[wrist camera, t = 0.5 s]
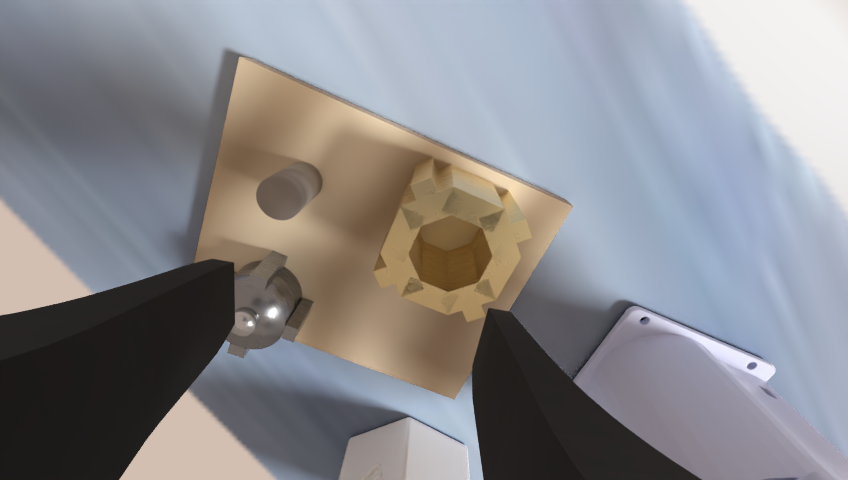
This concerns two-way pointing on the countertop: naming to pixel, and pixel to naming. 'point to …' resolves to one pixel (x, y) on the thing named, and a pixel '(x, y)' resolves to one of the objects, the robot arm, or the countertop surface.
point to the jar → (404, 454)
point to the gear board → (350, 222)
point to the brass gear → (461, 267)
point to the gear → (266, 305)
